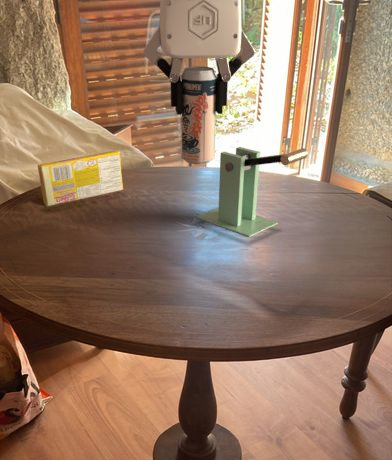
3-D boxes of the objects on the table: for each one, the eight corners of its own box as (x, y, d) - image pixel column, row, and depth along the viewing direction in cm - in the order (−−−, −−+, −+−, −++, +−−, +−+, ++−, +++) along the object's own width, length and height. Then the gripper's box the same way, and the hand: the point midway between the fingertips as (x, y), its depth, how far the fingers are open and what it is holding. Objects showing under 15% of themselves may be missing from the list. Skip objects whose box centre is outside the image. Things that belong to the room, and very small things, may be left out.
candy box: (118, 191, 115) (116, 149, 110) (124, 194, 113) (121, 152, 108) (43, 207, 107) (36, 163, 102) (48, 211, 105) (41, 166, 100)
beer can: (174, 159, 82) (173, 68, 75) (199, 153, 85) (200, 64, 78) (196, 167, 79) (197, 73, 72) (221, 161, 82) (224, 69, 75)
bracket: (277, 229, 100) (284, 154, 92) (248, 242, 95) (254, 165, 88) (225, 211, 106) (228, 140, 99) (196, 222, 101) (197, 149, 94)
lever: (308, 160, 88) (306, 144, 87) (290, 167, 85) (287, 151, 84) (244, 168, 97) (241, 153, 96) (225, 174, 94) (222, 159, 93)
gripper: (130, -51, 64) (137, 119, 74) (277, -49, 66) (265, 117, 76) (128, -51, 70) (135, 107, 80) (263, -49, 72) (253, 105, 82)
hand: (198, 110), depth 78 cm, fingers closed on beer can, 4 cm apart
